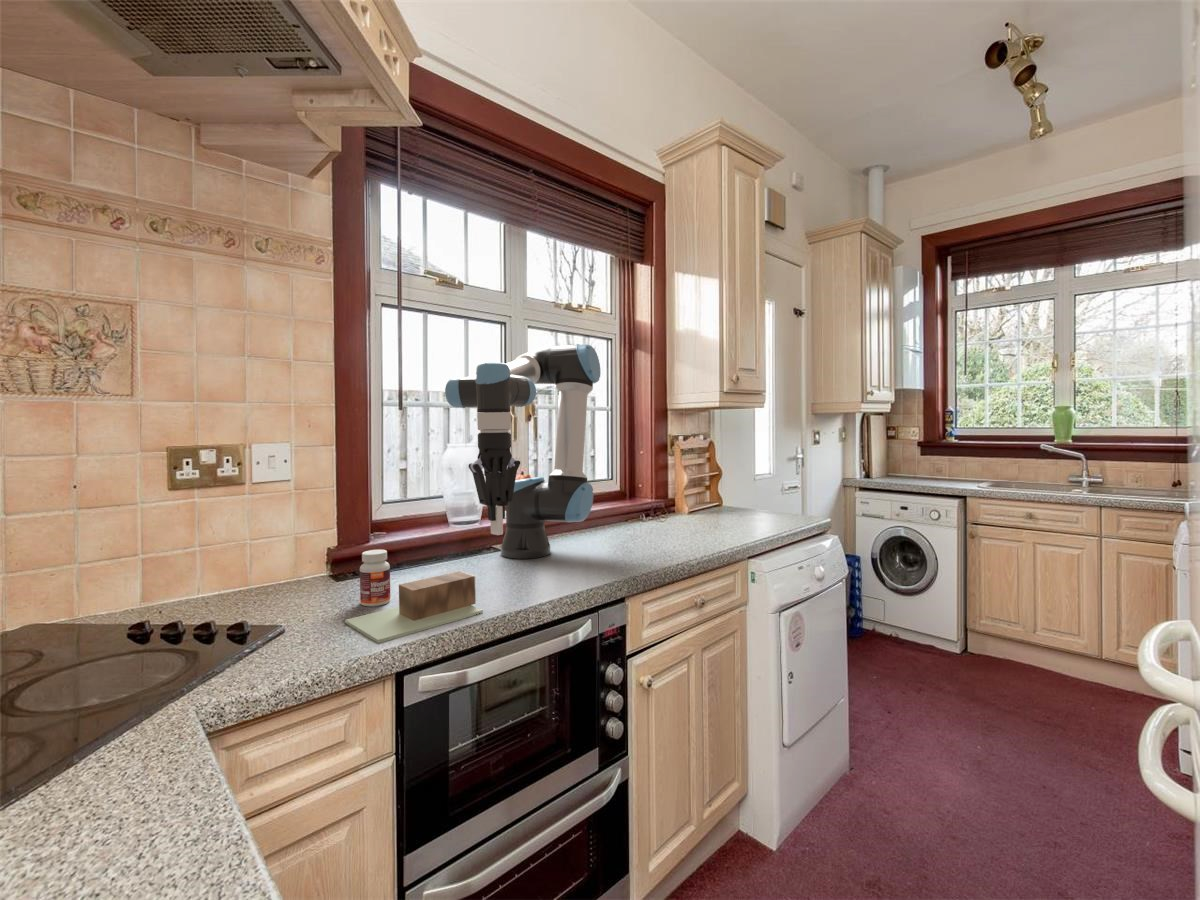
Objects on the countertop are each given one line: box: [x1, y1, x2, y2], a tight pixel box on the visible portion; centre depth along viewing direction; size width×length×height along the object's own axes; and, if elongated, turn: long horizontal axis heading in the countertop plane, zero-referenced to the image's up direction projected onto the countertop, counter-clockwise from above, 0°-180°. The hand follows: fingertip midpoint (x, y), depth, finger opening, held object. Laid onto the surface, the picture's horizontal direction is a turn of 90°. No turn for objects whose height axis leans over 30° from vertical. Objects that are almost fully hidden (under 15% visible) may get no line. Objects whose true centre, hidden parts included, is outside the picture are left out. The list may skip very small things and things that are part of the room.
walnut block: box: [398, 571, 477, 621], centre depth 113 cm, size 6×6×14 cm
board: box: [344, 605, 484, 644], centre depth 110 cm, size 22×15×1 cm
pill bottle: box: [359, 549, 391, 608], centre depth 119 cm, size 6×6×11 cm
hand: (496, 533), depth 125 cm, fingers closed
